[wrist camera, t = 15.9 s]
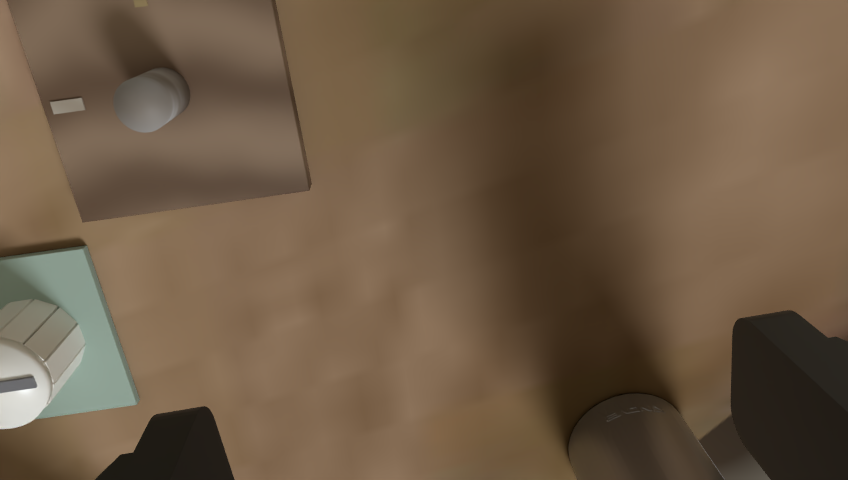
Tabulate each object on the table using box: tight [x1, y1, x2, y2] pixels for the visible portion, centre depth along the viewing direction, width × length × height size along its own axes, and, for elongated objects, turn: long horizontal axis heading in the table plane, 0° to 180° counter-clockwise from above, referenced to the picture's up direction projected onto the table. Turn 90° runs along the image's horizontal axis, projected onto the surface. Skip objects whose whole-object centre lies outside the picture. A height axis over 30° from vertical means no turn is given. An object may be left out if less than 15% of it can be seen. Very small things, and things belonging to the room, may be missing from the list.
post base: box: [7, 0, 312, 222], centre depth 37 cm, size 14×14×6 cm
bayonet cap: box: [0, 299, 85, 429], centre depth 42 cm, size 6×6×6 cm
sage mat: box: [0, 245, 140, 419], centre depth 45 cm, size 12×10×1 cm
